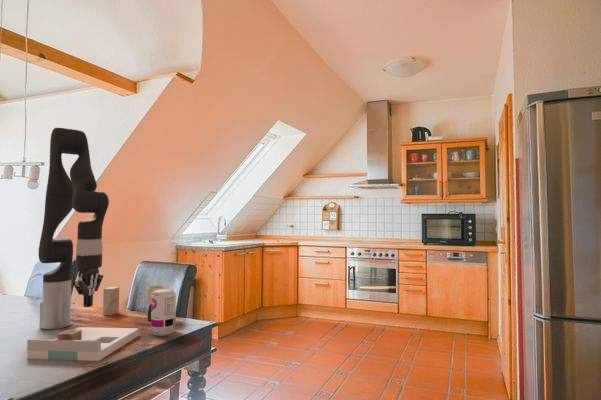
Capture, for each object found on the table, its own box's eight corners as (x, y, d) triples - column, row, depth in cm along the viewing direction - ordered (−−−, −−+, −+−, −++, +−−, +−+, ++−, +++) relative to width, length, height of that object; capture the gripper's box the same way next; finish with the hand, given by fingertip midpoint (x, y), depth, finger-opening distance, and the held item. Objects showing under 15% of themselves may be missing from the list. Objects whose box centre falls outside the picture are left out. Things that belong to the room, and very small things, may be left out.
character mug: (169, 320, 160) (170, 287, 160) (152, 323, 155) (152, 289, 155) (158, 315, 168) (158, 284, 168) (141, 318, 163) (141, 286, 163)
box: (111, 315, 167) (111, 288, 168) (102, 315, 168) (102, 288, 169) (119, 312, 173) (119, 286, 173) (110, 312, 173) (111, 286, 174)
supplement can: (151, 337, 137) (152, 293, 138) (150, 331, 145) (150, 289, 145) (176, 334, 141) (176, 291, 141) (173, 328, 148) (174, 287, 149)
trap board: (27, 358, 117) (27, 339, 117) (79, 334, 141) (79, 318, 141) (98, 360, 115) (98, 341, 116) (138, 335, 139) (139, 319, 139)
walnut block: (57, 349, 118) (57, 334, 118) (67, 344, 122) (67, 329, 123) (71, 349, 118) (72, 334, 118) (81, 344, 122) (81, 329, 122)
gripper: (90, 250, 136) (89, 301, 136) (64, 255, 123) (63, 311, 123) (111, 250, 135) (110, 302, 135) (87, 255, 122) (86, 312, 122)
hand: (88, 306), depth 129 cm, fingers closed
